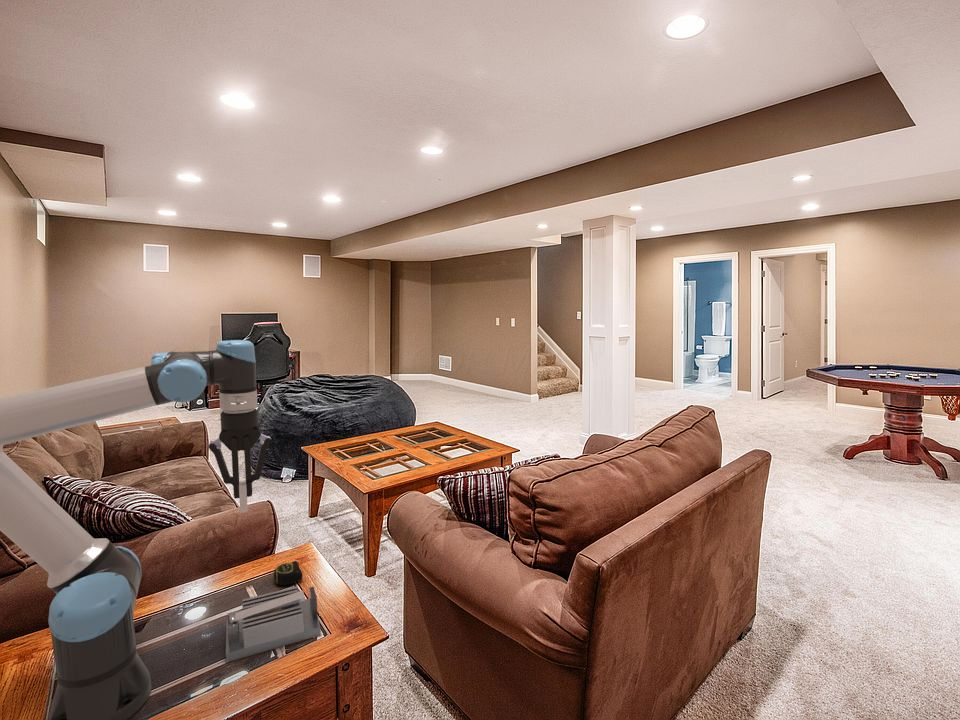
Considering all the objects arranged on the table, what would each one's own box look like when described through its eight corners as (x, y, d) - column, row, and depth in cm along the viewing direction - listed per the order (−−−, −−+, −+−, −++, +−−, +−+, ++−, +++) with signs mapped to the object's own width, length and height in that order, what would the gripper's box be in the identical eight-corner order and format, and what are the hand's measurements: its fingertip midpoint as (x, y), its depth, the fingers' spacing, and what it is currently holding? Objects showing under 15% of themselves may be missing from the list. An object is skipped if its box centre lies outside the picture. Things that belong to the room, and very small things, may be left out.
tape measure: (303, 583, 132) (302, 570, 131) (275, 591, 129) (274, 577, 128) (299, 571, 138) (298, 558, 137) (272, 577, 135) (272, 564, 134)
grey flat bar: (229, 627, 107) (228, 621, 107) (229, 619, 110) (228, 613, 110) (305, 601, 114) (304, 596, 114) (303, 594, 116) (302, 589, 116)
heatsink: (226, 662, 103) (223, 631, 102) (227, 627, 114) (225, 599, 113) (320, 635, 112) (319, 606, 111) (313, 605, 122) (312, 578, 121)
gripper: (204, 415, 105) (210, 522, 108) (271, 410, 110) (275, 512, 113) (207, 408, 111) (212, 508, 114) (270, 404, 117) (274, 499, 120)
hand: (243, 510), depth 114 cm, fingers closed
